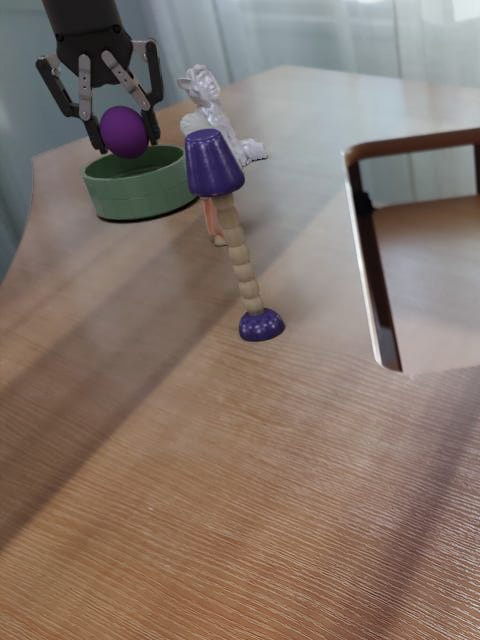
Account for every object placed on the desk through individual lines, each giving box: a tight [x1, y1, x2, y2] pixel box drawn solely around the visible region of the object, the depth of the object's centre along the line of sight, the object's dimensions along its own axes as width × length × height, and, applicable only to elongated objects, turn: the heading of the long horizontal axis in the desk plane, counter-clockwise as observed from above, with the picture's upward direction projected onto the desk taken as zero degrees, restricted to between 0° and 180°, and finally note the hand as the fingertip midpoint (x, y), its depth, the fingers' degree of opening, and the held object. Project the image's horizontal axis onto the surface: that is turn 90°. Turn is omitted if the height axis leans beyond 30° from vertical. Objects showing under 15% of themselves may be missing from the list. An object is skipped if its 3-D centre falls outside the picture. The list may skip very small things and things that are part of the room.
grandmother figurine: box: [179, 112, 228, 247], centre depth 95 cm, size 8×4×13 cm, turn 6°
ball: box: [99, 105, 150, 159], centre depth 105 cm, size 6×6×6 cm
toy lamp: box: [184, 129, 286, 342], centre depth 75 cm, size 5×5×17 cm
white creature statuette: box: [176, 63, 268, 171], centre depth 115 cm, size 10×9×12 cm
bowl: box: [79, 143, 197, 221], centre depth 109 cm, size 13×13×5 cm
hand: (129, 147), depth 106 cm, fingers closed on ball, 5 cm apart
